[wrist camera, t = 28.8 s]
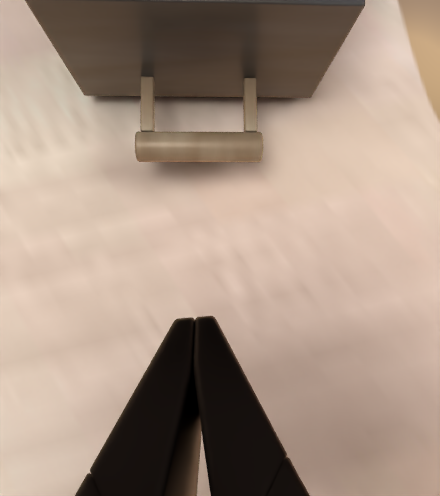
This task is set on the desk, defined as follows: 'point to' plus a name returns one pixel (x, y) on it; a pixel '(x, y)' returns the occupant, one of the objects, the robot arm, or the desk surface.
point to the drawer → (197, 59)
